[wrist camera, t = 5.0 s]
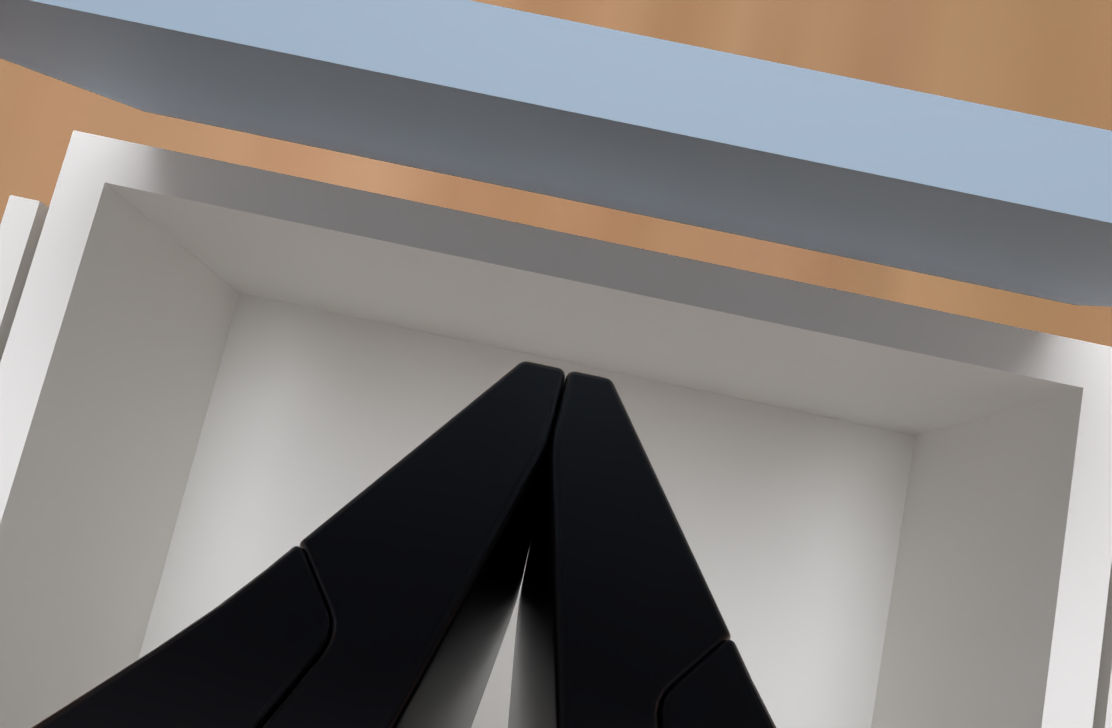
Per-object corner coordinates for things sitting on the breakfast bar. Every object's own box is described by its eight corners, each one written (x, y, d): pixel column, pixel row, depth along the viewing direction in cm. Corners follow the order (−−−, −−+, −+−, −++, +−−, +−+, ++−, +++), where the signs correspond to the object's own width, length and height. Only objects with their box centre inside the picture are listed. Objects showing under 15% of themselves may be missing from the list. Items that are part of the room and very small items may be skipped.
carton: (867, 1146, 17) (1060, 1507, 11) (0, 947, 18) (-313, 1179, 11) (971, 421, 19) (1182, 362, 13) (196, 257, 20) (29, 121, 13)
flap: (1074, 304, 13) (1657, 335, 6) (144, 111, 13) (-386, -84, 6) (1083, 265, 13) (1682, 245, 6) (150, 72, 13) (-376, -173, 6)
